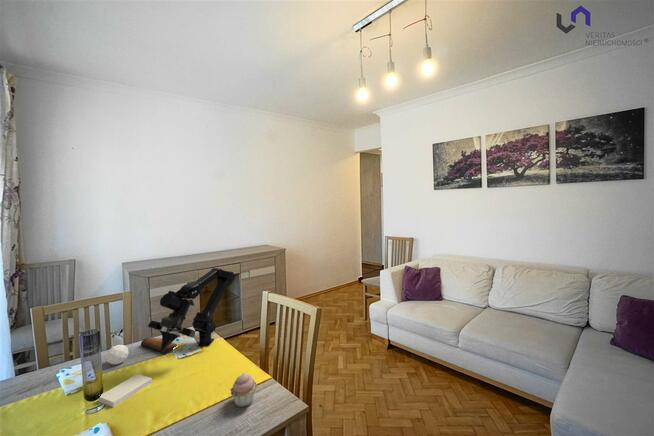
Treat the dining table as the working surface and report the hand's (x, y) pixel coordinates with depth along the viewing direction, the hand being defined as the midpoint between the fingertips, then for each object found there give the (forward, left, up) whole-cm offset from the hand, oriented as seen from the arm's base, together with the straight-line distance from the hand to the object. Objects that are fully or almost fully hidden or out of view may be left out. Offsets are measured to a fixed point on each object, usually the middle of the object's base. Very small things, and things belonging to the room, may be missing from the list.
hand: (162, 350), depth 116 cm
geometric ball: (-5, -23, -8) cm, 25 cm away
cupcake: (+19, +39, -8) cm, 44 cm away
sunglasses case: (-19, -12, -9) cm, 24 cm away
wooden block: (+7, -3, -7) cm, 11 cm away
